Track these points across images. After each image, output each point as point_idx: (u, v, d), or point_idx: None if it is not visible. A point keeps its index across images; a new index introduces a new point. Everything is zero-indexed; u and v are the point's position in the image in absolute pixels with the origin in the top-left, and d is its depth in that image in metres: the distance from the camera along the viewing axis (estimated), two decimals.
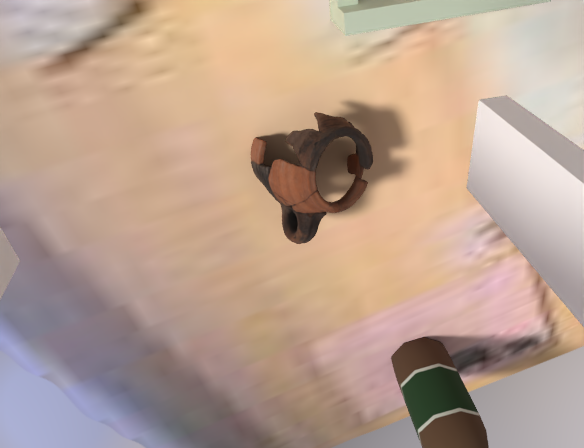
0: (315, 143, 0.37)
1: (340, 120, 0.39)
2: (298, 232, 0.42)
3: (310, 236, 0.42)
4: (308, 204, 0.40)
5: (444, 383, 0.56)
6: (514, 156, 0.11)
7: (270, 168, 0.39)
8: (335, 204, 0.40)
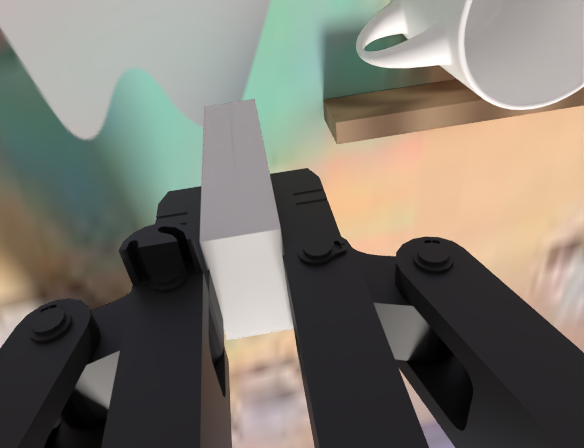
0: None
1: None
2: None
3: None
4: None
5: None
6: None
7: None
8: None
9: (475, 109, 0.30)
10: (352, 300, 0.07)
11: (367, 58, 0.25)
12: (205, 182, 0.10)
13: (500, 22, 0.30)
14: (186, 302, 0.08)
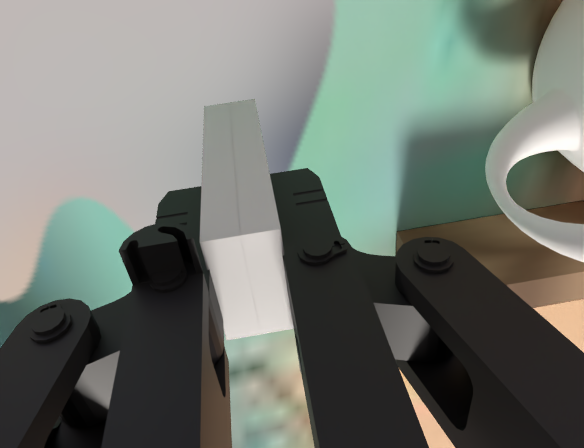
0: None
1: None
2: None
3: None
4: None
5: None
6: None
7: None
8: None
9: None
10: (352, 300, 0.07)
11: (534, 233, 0.12)
12: (205, 182, 0.10)
13: None
14: (186, 302, 0.08)
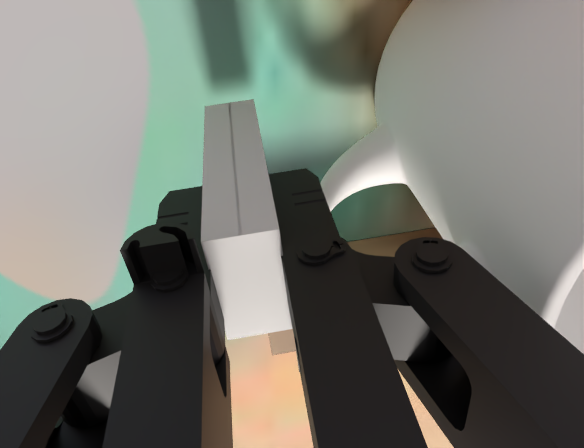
0: None
1: None
2: None
3: None
4: None
5: None
6: None
7: None
8: None
9: None
10: (351, 300, 0.07)
11: None
12: (206, 182, 0.10)
13: None
14: (187, 302, 0.08)
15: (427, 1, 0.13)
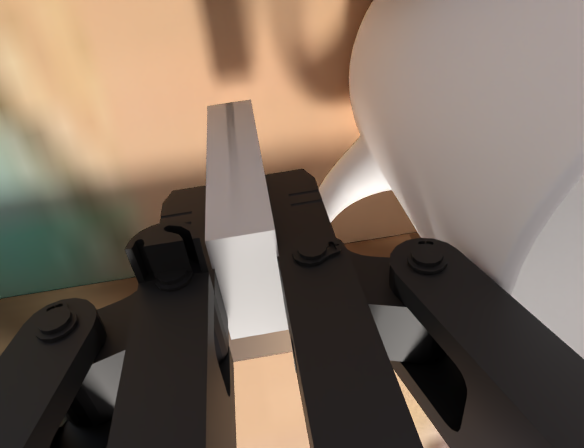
0: None
1: None
2: None
3: None
4: None
5: None
6: None
7: None
8: None
9: None
10: (347, 301, 0.07)
11: None
12: (209, 181, 0.10)
13: None
14: (192, 301, 0.08)
15: (376, 13, 0.13)
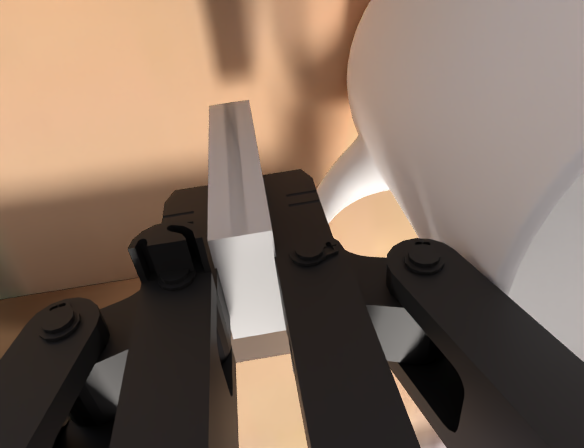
0: None
1: None
2: None
3: None
4: None
5: None
6: None
7: None
8: None
9: None
10: (344, 301, 0.07)
11: None
12: (212, 181, 0.10)
13: None
14: (194, 301, 0.08)
15: (374, 13, 0.13)
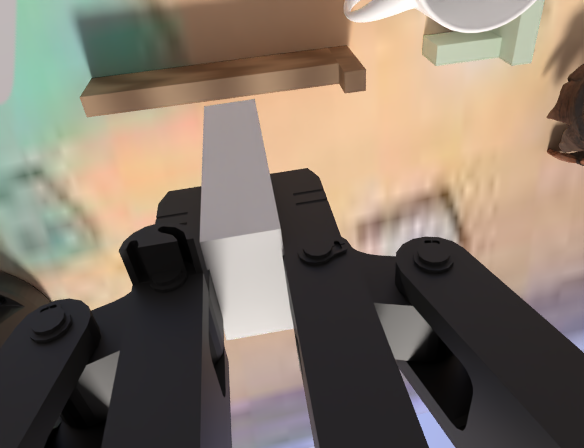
0: (580, 138, 0.38)
1: (564, 95, 0.39)
2: None
3: None
4: None
5: None
6: None
7: None
8: None
9: (210, 88, 0.34)
10: (352, 300, 0.07)
11: (351, 18, 0.30)
12: (205, 182, 0.10)
13: None
14: (186, 302, 0.08)
15: None
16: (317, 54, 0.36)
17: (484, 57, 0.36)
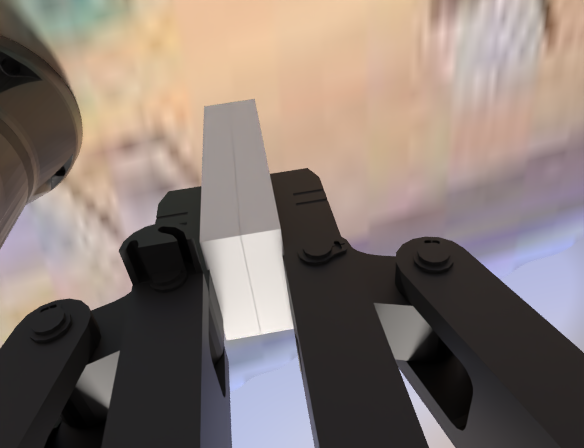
0: None
1: None
2: None
3: None
4: None
5: None
6: None
7: None
8: None
9: None
10: (352, 300, 0.07)
11: None
12: (205, 182, 0.10)
13: None
14: (186, 302, 0.08)
15: None
16: None
17: None
